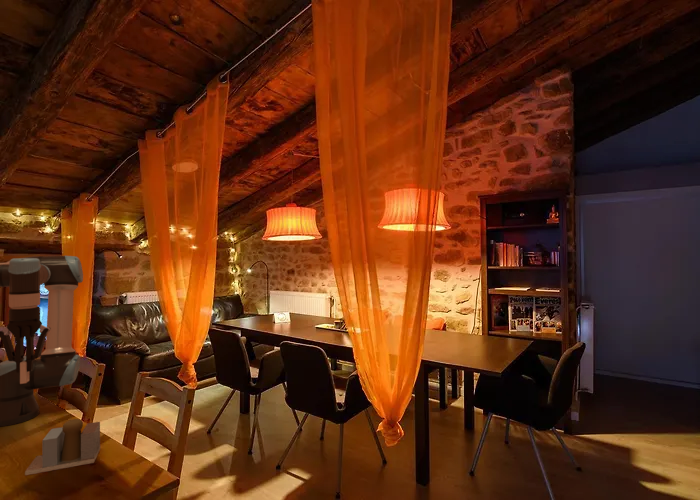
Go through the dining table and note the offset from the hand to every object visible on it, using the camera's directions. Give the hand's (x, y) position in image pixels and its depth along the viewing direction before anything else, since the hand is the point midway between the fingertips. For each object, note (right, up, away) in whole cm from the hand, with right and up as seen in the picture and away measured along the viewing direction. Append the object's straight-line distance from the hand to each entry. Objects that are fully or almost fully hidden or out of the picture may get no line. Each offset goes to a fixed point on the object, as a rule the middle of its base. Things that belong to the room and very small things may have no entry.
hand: (24, 382), depth 120 cm
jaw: (+11, -23, -2) cm, 26 cm away
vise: (+14, -24, -1) cm, 28 cm away
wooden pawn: (+15, -23, 0) cm, 28 cm away
